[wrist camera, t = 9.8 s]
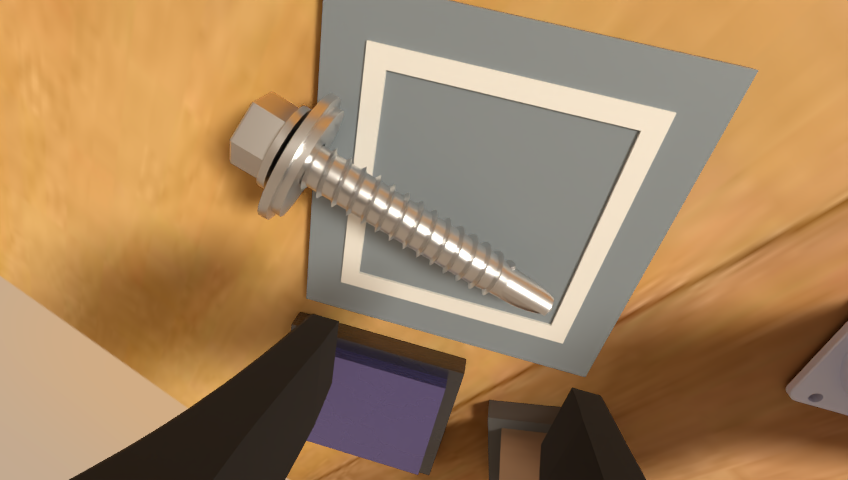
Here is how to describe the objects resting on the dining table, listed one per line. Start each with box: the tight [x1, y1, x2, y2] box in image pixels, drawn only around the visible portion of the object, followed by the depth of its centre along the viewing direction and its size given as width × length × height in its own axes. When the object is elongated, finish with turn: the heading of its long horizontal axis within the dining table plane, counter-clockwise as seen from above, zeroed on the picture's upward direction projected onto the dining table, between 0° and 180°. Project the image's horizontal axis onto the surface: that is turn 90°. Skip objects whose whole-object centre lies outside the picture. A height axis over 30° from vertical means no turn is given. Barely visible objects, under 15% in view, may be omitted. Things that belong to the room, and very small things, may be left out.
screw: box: [230, 92, 554, 316], centre depth 16 cm, size 13×5×5 cm, turn 57°
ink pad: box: [291, 312, 466, 475], centre depth 24 cm, size 9×9×2 cm
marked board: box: [306, 0, 758, 377], centre depth 17 cm, size 14×14×1 cm
